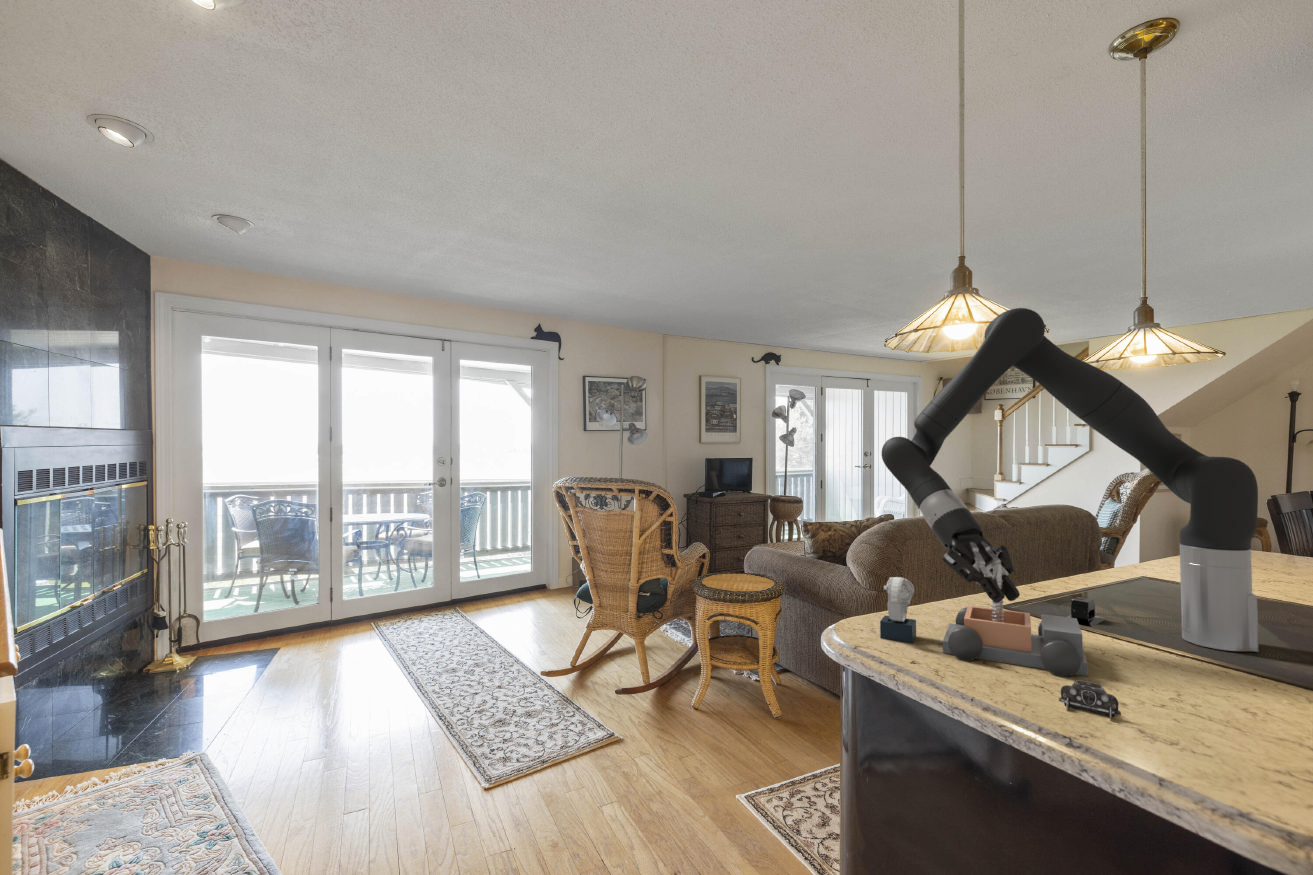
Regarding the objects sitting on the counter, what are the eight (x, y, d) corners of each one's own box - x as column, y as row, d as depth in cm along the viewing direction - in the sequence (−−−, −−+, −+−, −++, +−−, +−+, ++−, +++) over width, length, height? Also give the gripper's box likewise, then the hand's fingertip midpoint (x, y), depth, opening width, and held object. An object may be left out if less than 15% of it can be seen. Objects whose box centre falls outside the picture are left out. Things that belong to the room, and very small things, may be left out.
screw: (975, 635, 102) (997, 633, 103) (998, 644, 98) (1020, 641, 99) (975, 561, 102) (997, 559, 104) (997, 566, 98) (1020, 565, 99)
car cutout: (1054, 717, 77) (1054, 682, 77) (1060, 700, 82) (1060, 668, 82) (1211, 755, 67) (1210, 715, 67) (1207, 734, 72) (1206, 697, 72)
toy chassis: (1079, 649, 101) (1078, 614, 101) (1089, 680, 87) (1088, 640, 87) (950, 630, 111) (950, 599, 111) (941, 656, 98) (941, 620, 98)
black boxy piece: (1074, 613, 125) (1073, 591, 125) (1116, 621, 119) (1115, 598, 119) (1051, 623, 118) (1051, 600, 118) (1095, 632, 112) (1094, 608, 112)
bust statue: (917, 633, 110) (916, 575, 110) (910, 645, 103) (910, 583, 103) (886, 628, 113) (885, 572, 113) (877, 640, 106) (877, 580, 106)
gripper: (930, 507, 106) (989, 590, 94) (989, 505, 110) (1053, 583, 98) (909, 533, 111) (963, 614, 99) (967, 529, 115) (1024, 607, 103)
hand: (1007, 598), depth 99 cm, fingers closed
